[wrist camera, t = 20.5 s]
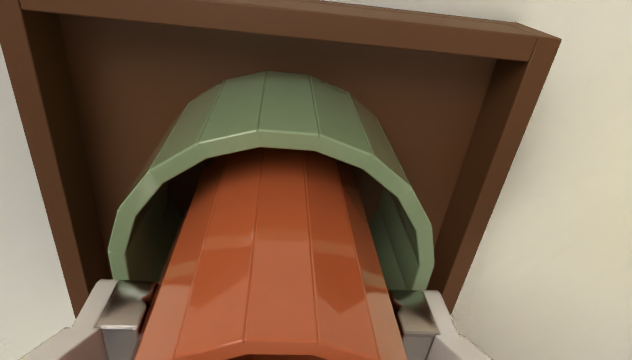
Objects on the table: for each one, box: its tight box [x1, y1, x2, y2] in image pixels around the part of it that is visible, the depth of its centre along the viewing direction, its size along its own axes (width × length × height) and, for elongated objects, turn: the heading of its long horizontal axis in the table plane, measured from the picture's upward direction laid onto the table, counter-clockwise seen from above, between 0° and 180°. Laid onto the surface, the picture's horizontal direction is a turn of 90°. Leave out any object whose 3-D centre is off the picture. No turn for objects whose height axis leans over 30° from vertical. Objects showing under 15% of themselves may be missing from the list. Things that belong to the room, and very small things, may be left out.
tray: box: [0, 0, 561, 318], centre depth 16 cm, size 17×15×3 cm
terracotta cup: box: [130, 147, 408, 360], centre depth 12 cm, size 6×6×9 cm
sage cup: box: [108, 71, 435, 291], centre depth 15 cm, size 10×10×6 cm
